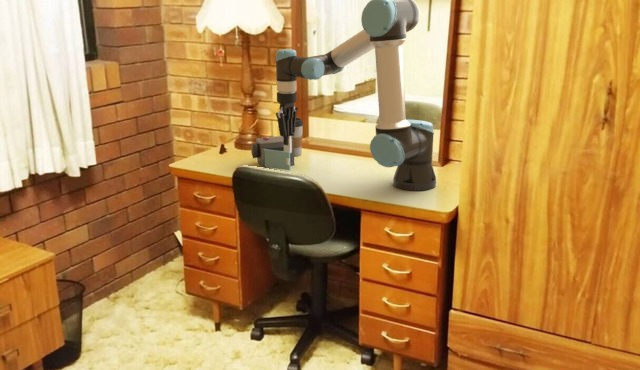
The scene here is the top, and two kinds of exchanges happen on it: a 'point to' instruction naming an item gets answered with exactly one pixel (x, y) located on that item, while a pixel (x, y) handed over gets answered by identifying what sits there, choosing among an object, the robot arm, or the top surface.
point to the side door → (276, 159)
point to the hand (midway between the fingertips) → (287, 152)
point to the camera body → (269, 147)
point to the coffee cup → (298, 137)
